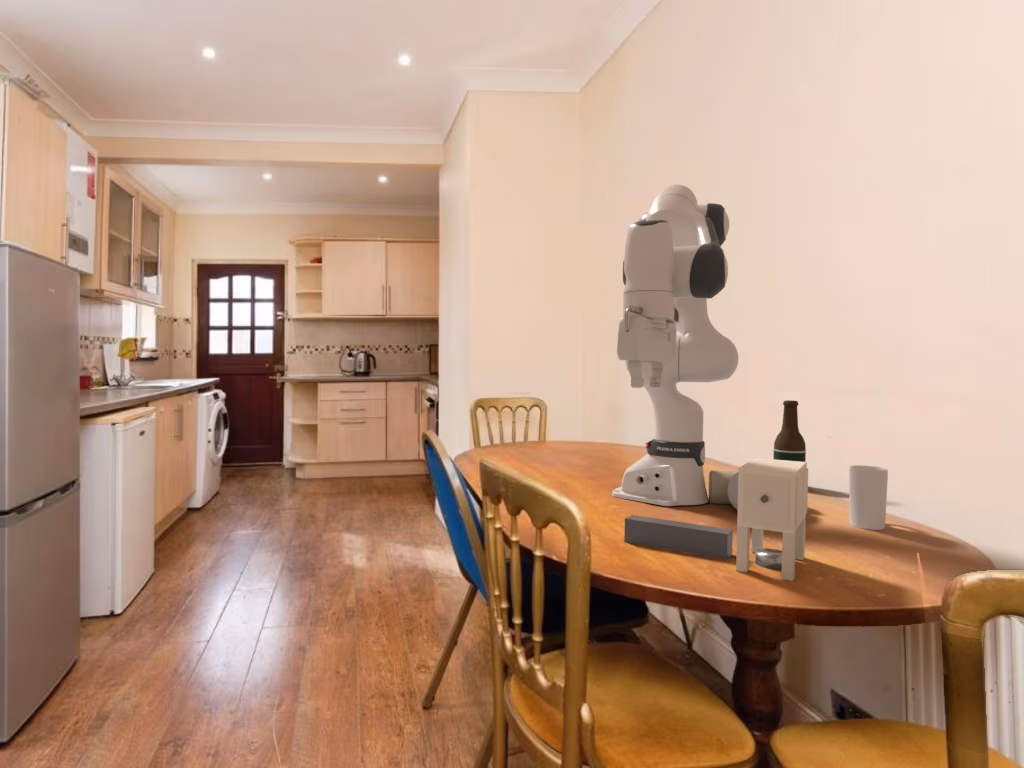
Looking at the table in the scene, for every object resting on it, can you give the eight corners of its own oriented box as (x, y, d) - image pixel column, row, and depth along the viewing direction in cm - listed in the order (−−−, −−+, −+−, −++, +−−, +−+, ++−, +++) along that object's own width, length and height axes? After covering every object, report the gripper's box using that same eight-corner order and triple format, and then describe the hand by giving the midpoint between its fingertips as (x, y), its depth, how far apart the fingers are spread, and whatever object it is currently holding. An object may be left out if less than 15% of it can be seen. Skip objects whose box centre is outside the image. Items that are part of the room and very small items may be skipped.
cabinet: (734, 572, 93) (736, 468, 93) (753, 549, 106) (755, 457, 105) (794, 583, 88) (796, 474, 88) (806, 557, 101) (809, 462, 101)
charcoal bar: (624, 543, 109) (624, 518, 109) (631, 538, 112) (632, 514, 112) (727, 561, 99) (727, 534, 99) (732, 556, 102) (732, 529, 102)
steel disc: (752, 566, 97) (752, 554, 97) (757, 558, 101) (758, 546, 101) (786, 572, 94) (786, 559, 94) (790, 563, 98) (790, 551, 98)
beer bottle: (791, 494, 155) (793, 401, 155) (766, 489, 162) (768, 400, 162) (811, 492, 159) (813, 401, 158) (785, 487, 166) (787, 399, 165)
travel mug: (710, 491, 137) (796, 495, 133) (709, 463, 143) (792, 466, 138) (709, 511, 143) (791, 516, 138) (708, 483, 148) (787, 487, 144)
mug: (887, 532, 119) (888, 471, 118) (847, 527, 122) (849, 468, 122) (885, 521, 127) (886, 465, 127) (848, 517, 131) (849, 462, 130)
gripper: (644, 303, 98) (643, 388, 98) (682, 314, 115) (680, 387, 115) (608, 305, 101) (607, 387, 101) (650, 316, 118) (649, 386, 119)
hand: (646, 387), depth 108 cm, fingers open, 8 cm apart
